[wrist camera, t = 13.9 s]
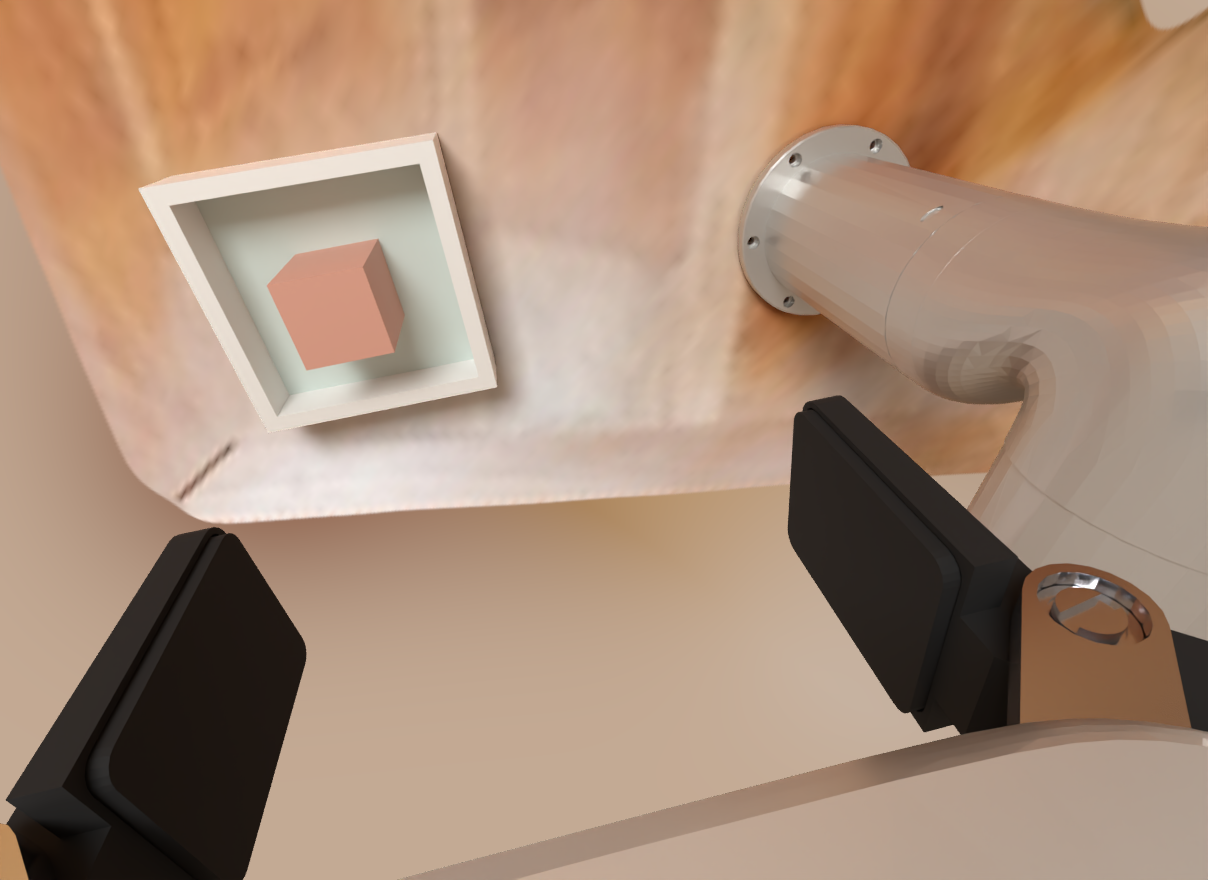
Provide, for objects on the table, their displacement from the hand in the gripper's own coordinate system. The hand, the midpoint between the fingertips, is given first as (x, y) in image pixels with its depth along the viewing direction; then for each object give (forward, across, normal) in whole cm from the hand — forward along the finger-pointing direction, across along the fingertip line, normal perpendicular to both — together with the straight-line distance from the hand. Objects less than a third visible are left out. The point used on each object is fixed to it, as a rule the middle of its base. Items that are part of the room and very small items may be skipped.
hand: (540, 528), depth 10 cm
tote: (+32, +10, +4) cm, 34 cm away
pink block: (+31, +10, +4) cm, 33 cm away
